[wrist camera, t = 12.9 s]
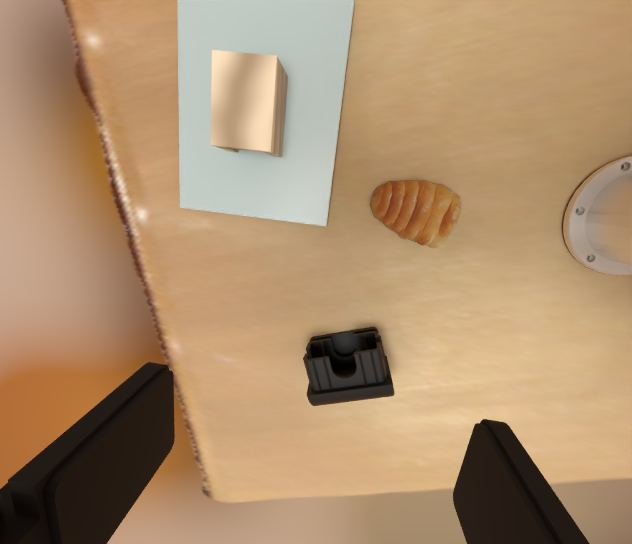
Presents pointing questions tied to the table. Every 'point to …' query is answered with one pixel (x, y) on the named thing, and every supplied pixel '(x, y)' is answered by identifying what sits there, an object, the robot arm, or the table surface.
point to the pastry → (417, 210)
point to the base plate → (300, 115)
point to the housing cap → (248, 102)
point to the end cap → (347, 367)
